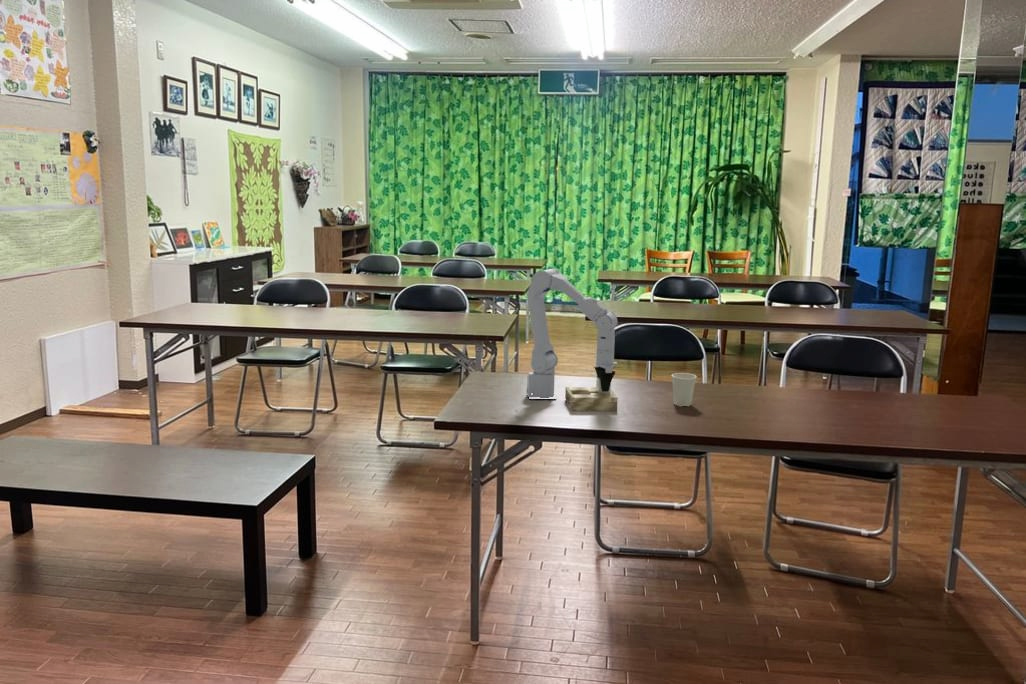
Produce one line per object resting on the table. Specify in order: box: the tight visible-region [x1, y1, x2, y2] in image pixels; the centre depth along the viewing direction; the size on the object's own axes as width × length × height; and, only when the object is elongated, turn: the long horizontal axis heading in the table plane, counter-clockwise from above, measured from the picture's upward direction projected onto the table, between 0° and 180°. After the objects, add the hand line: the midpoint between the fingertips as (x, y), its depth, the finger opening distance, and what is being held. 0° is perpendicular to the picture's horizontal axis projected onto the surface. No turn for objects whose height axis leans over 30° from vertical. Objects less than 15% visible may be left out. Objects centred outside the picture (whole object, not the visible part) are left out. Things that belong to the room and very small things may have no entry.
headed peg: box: [595, 375, 612, 394], centre depth 258 cm, size 4×4×9 cm
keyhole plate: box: [564, 386, 619, 412], centre depth 258 cm, size 15×14×4 cm
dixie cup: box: [671, 372, 698, 407], centre depth 261 cm, size 8×8×10 cm
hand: (603, 389), depth 258 cm, fingers closed on headed peg, 4 cm apart
